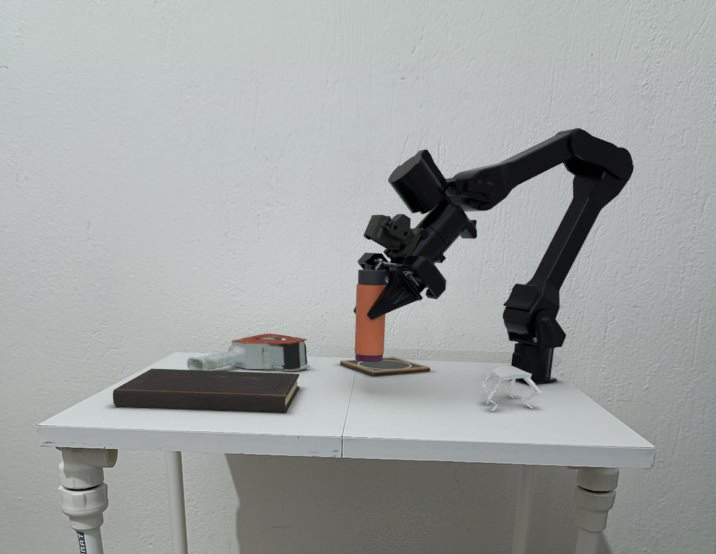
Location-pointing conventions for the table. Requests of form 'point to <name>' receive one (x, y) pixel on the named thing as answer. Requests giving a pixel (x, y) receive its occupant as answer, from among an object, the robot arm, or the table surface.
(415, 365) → the square coaster
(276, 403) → the hardcover book
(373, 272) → the dot marker
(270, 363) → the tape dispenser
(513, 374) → the white legged figure
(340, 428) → the table surface
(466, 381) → the table surface
